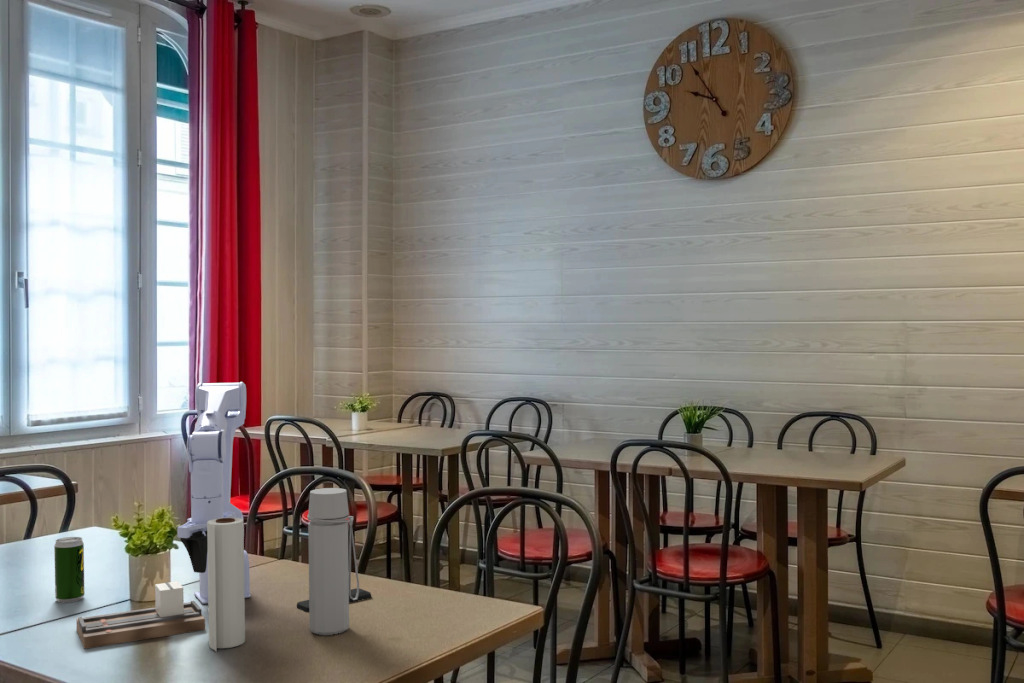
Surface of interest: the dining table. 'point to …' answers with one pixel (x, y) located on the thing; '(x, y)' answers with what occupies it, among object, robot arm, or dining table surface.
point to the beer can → (69, 569)
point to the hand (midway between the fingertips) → (208, 568)
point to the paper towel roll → (226, 582)
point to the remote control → (362, 595)
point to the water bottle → (329, 561)
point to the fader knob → (169, 599)
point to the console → (137, 625)
